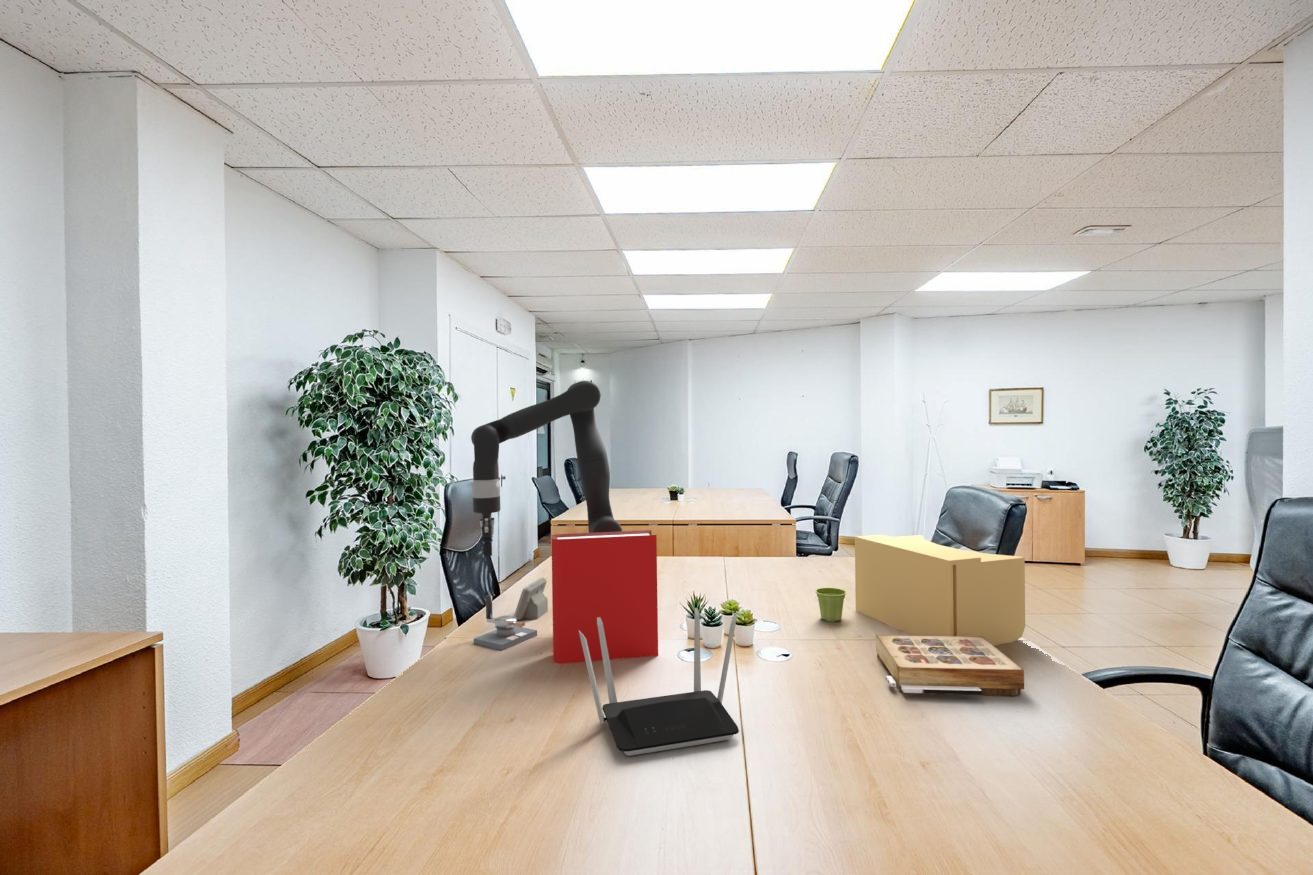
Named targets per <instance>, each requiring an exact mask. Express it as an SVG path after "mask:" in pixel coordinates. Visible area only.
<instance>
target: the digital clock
mask: <svg viewBox="0 0 1313 875" xmlns="http://www.w3.org/2000/svg"><path fill="white" fill-rule="evenodd" d="M546 585H547V578H545V577H539V578H538V579H536V580H534V581H533V582H531V583H529V584H528V585H527V586H525V587H523V588H522V590H521V594H520V597H519V600H518V603H517V605H516V608H515V611H514V614H513V616H515V617H516V621H521V620H523V619H527V620H528V619H529V620H530V619H531V620H538V619H539V618H541V617H542V616H543V615H544V614H546V612H548V610H549V608H548V607H549V606H548V600H549V599H548V597H547V596H545V594H544V590H545V588H546Z"/></svg>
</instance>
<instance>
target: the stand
mask: <svg viewBox="0 0 1313 875" xmlns="http://www.w3.org/2000/svg"><path fill="white" fill-rule="evenodd" d="M536 636H538V630H537V629H533V628H528V627H525V626H523V627H518V626H515V627H513V628H508V629H498V628H496V629H495V630H492V631H490V632H487V633H483V634H482V635H479V636H476V637H474V638H473V644H474V645H479V646H481V647H486V648H490V649H494V650H498V651H504V650H507V649H509V648H511V647H514V646H516V645H519V644H520V643H523V642H524V641H528V640H529V639H532V638H534V637H536Z"/></svg>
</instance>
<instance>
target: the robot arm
mask: <svg viewBox="0 0 1313 875" xmlns="http://www.w3.org/2000/svg"><path fill="white" fill-rule="evenodd" d="M601 394H602V393H601V390H600V388H599V387H598V385H597V384H595V382H592V381H590V380H580V381H578V382H574V383H573V384H571V385H570V386H569V387H568V388H567V390H566V391H563V392H562V393H561V394H559V395H557V396H554V397H552V398H550V399H546V400H544V401H542V402H539V403H538V402H537V403H536V404H533V405H530V406H527V407H524V408H521V409H519V410H517V411H515V412H511V413H509V414H507V415H505V416H503V417H501V418H500V419H497V420H496V419H495V420H494V421H491V422H487V423H485V424H482V425H479V426H477V427H476V428H475V429H473V431H472V434H471V437H470V438H471V439H470V440H471V444H472V445H473V452H474V459H473V464H472V477H473V478H472V512H473V513H474V514H481V516H482V517H480V519H479V526H480V536H482V537H481V538H482V539H481V540H482V543H483V557H484V558H487V557H492V555H493V545H492V544H493V540H494V539H493V537H494V533H495V530H494V529H495V528H494V526H495V517H492V513H499V512H500V511H501V488H500V479H499V478H500V477H499V454H500V444H502V443H504V442H506V441H508V440H513V439H517V438H519V437H521V436H523V435H526V434H528V433H531V432H532V431H535V430H538V429H540V428H541V427H543V426H545V425H547V424H549V423H552V422H555V421H556V420H559V419H561V418H564V417H566V416H570V420H571V424H572V429H573V434H574V435H573V436H574V446H575V451H576V458H577V465H578V472H579V476H580V482H581V485H582V490H583V494H584V498H585V502H586V509H587V510H586V511H587V524H588V525H587V526H588V527H587V528H588V533H597V532H620V531H623V528H622V525H621V523H619V521H617V520H615V518H614V515H613V511H612V506H611V502H610V484H611V472H610V462H609V458H608V454H607V450H606V446H605V444H604V441H603V439H602V437H601V435H600V433H599V430H598V428H597V427H598V426H597V421H596V417H595V416H596V415H595V408H596V407H597V406H598V405H599V404H600V400H601V396H602V395H601Z"/></svg>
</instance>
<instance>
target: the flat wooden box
mask: <svg viewBox="0 0 1313 875" xmlns="http://www.w3.org/2000/svg"><path fill="white" fill-rule="evenodd" d="M875 652H876V658H877V660H878V662H879V663H880V664H881V666H882V667H885V668H887V669H888V672H889V673H890V674H891V675H885V680H886V681H887V683H888V685H889V687H890V688H891V687H893V688H895V687H896V689H897V691H898V692H899V693H904V694H905V693H906V694H926V695H944V696H945V695H946V696H947V695H949V696H957V695H979V696H980V695H981V696H982V695H985V696H991V697H995V696H1000V697H1002V696H1004V697H1006V696H1012V697H1016V696H1018V695H1019V696H1020V694H1022V690H1024V689H1025V670H1024V668H1022V667H1021V666H1020V665H1019V664H1017V662H1015V661H1013V660H1012V659H1011V658H1010V657H1009V656H1007V655H1006V654H1005V653H1004V652H1002V651H1001V650H1000V649H999V648H997V647H996V645H992V644H991V643H990V642H989V641H987V640H986V639H985V638H984V637H982V636H913V635H909V634H908V635H905V634H904V635H902V634H901V635H900V634H899V635H897V634H893V635H892V634H887V635H886V634H883V635H882V634H875Z"/></svg>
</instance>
